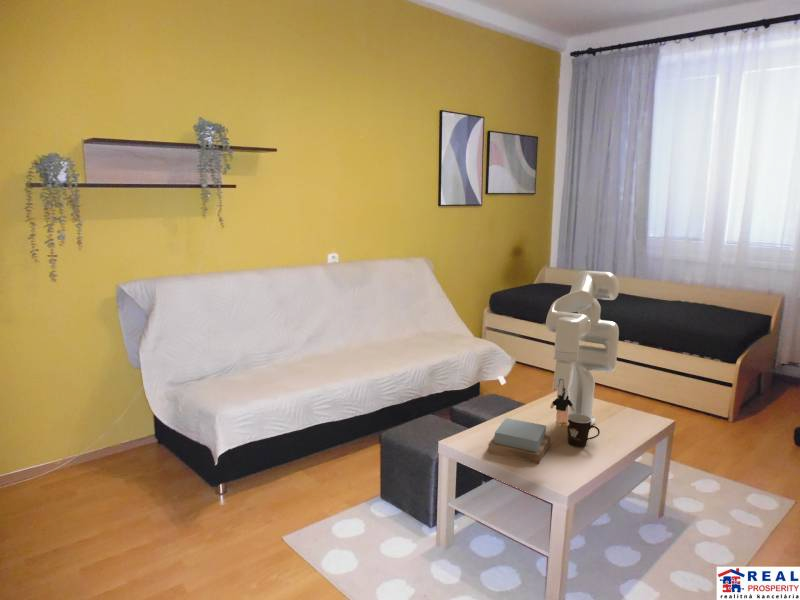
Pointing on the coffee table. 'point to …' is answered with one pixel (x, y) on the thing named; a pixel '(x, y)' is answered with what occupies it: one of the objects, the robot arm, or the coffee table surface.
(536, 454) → the tower base block
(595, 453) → the coffee table surface
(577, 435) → the coffee mug
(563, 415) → the grandmother figurine
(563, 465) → the coffee table surface
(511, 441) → the tower top block
